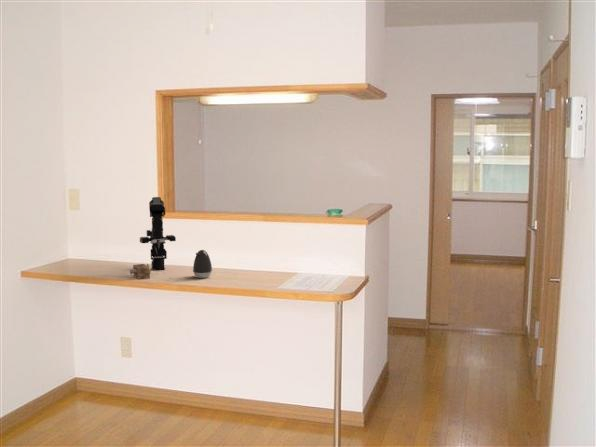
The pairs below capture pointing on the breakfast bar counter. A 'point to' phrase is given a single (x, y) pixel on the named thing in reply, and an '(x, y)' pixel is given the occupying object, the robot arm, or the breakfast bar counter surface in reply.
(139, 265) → the block
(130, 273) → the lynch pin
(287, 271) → the breakfast bar counter surface
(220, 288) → the breakfast bar counter surface
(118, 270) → the breakfast bar counter surface
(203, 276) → the black egg-shaped device
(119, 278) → the breakfast bar counter surface
